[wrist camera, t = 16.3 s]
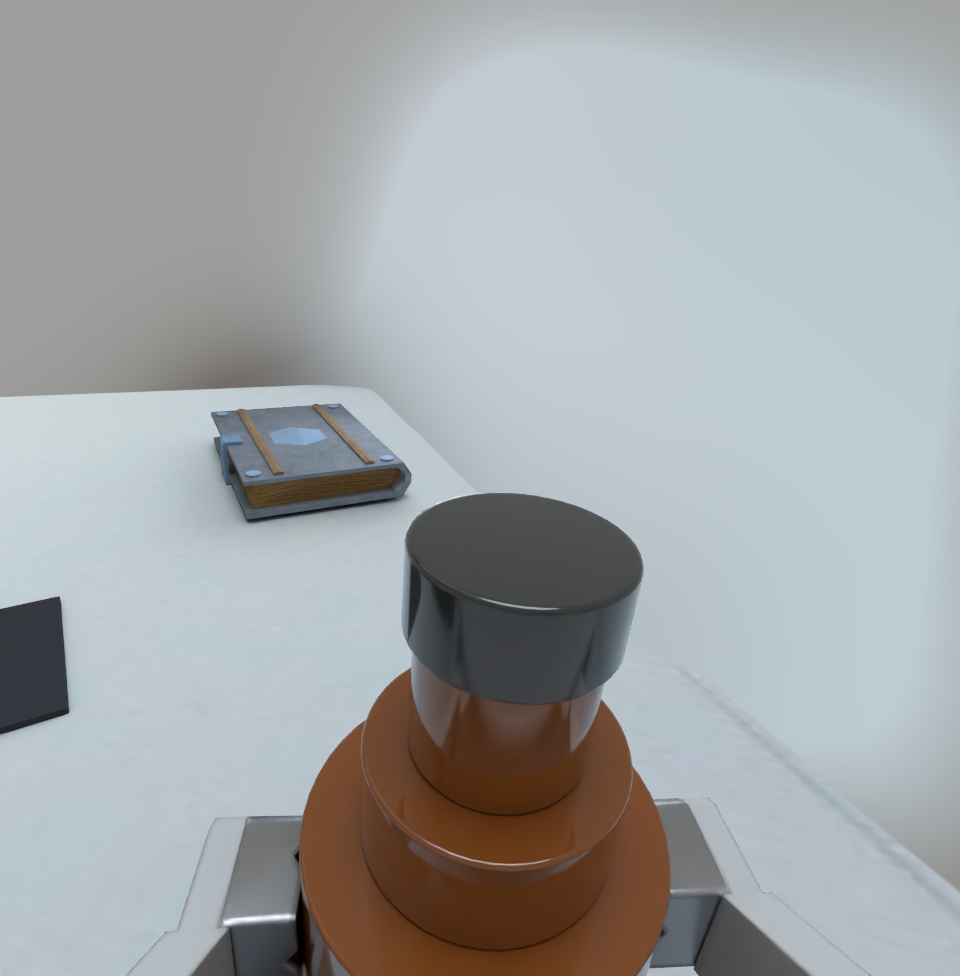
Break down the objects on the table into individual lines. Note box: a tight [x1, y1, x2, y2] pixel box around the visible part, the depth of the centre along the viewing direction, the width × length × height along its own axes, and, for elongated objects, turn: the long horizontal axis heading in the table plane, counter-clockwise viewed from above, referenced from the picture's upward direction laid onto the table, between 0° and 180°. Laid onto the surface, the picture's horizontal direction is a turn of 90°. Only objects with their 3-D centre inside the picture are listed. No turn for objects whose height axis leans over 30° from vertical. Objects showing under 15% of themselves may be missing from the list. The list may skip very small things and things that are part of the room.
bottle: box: [299, 493, 671, 976], centre depth 10 cm, size 5×5×14 cm
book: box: [211, 404, 411, 519], centre depth 65 cm, size 21×16×5 cm
